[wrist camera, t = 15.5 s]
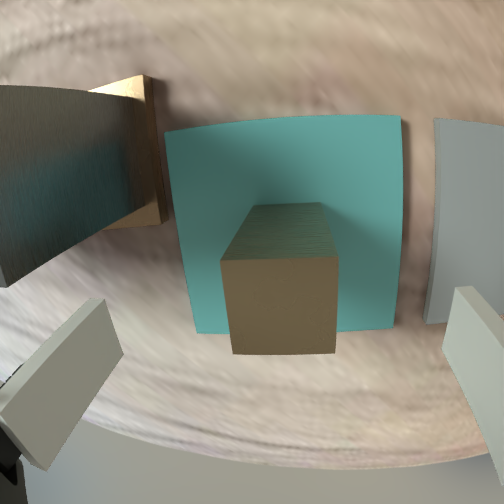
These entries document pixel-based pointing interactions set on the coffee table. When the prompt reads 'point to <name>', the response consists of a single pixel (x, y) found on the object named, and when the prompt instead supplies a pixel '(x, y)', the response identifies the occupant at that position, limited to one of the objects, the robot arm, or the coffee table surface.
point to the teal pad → (293, 191)
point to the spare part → (282, 282)
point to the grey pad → (467, 216)
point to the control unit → (74, 168)
